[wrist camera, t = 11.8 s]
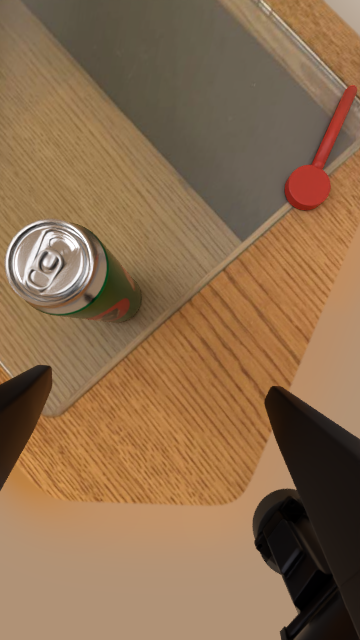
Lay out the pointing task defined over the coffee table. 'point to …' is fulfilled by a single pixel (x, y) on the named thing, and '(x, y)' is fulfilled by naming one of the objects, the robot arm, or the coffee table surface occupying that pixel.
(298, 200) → the spoon
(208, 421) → the coffee table surface
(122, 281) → the soda can
